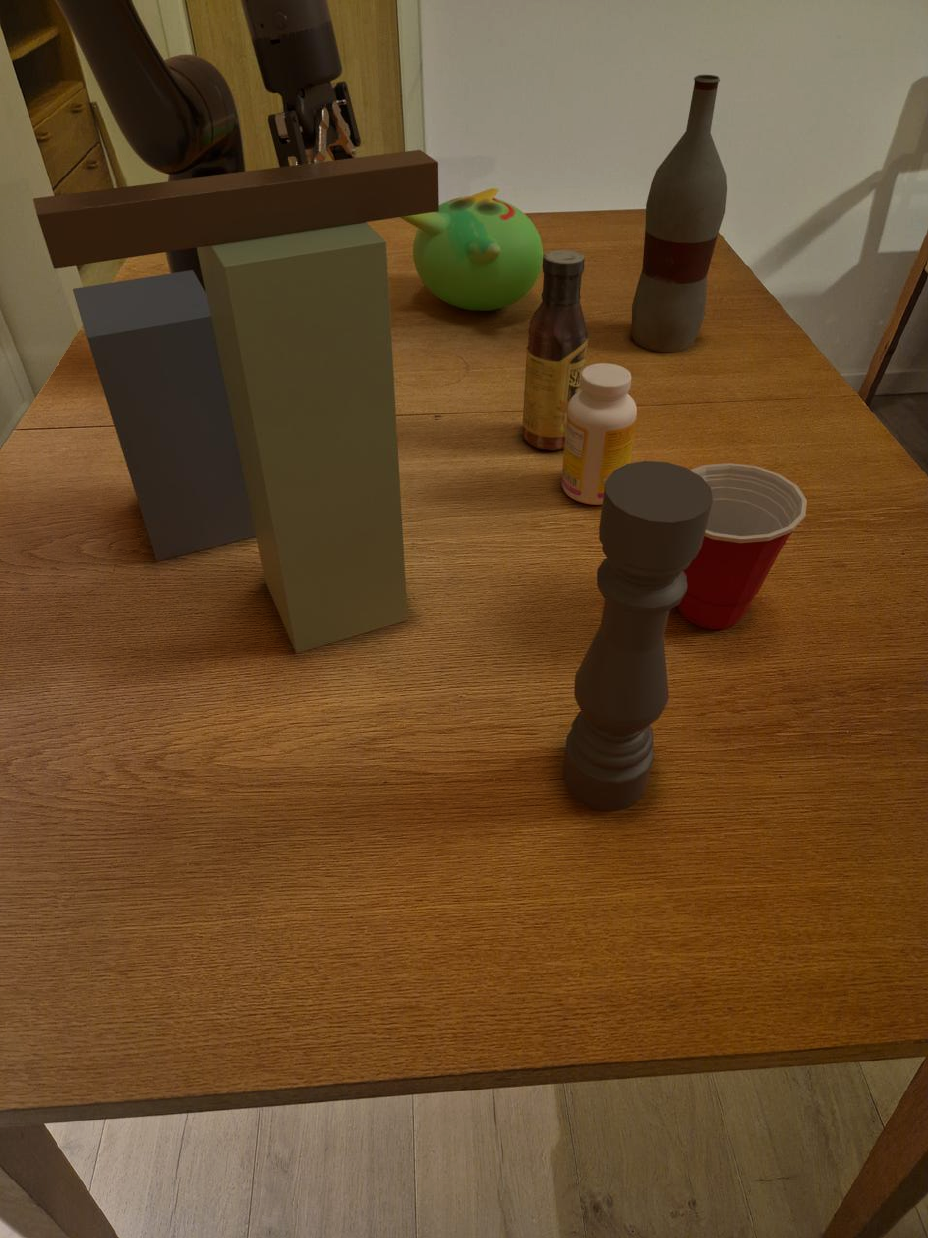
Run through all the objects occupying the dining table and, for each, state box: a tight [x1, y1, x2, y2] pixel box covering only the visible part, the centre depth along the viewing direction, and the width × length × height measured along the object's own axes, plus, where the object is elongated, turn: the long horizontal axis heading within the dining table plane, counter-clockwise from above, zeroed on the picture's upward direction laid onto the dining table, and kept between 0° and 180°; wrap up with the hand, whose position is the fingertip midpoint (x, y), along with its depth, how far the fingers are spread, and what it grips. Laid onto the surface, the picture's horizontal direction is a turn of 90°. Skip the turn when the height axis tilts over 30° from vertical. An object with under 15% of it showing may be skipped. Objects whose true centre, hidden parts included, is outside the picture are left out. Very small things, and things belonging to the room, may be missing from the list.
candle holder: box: [561, 460, 713, 812], centre depth 54 cm, size 6×6×25 cm
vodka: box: [631, 74, 728, 354], centre depth 104 cm, size 9×9×30 cm
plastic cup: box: [677, 462, 808, 630], centre depth 72 cm, size 11×11×12 cm
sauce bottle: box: [522, 248, 589, 451], centre depth 90 cm, size 6×6×20 cm
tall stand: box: [197, 222, 409, 654], centre depth 66 cm, size 10×10×32 cm
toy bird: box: [399, 187, 544, 312], centre depth 117 cm, size 18×17×15 cm
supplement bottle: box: [561, 362, 638, 506], centre depth 85 cm, size 7×7×13 cm
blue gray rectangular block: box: [72, 270, 256, 562], centre depth 78 cm, size 10×10×22 cm
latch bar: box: [32, 149, 440, 270], centre depth 53 cm, size 24×3×3 cm, turn 114°
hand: (337, 212), depth 89 cm, fingers open, 8 cm apart
